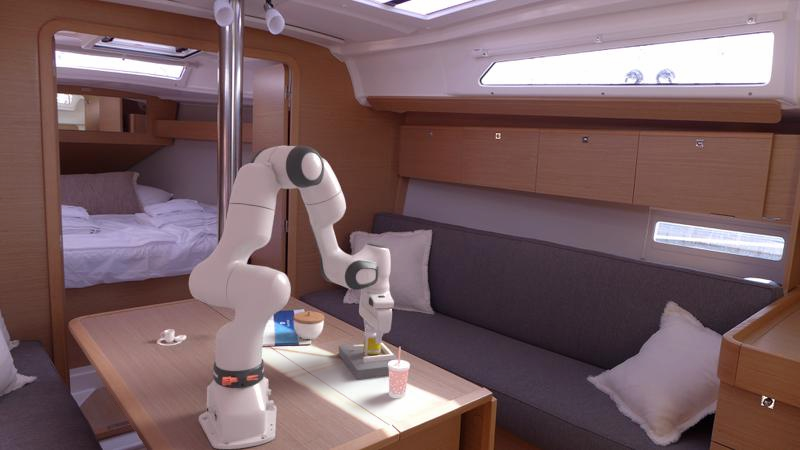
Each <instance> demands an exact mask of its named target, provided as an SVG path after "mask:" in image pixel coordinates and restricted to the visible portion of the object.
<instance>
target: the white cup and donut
mask: <svg viewBox="0 0 800 450" xmlns="http://www.w3.org/2000/svg"><path fill="white" fill-rule="evenodd" d="M162 334H164V337H163V335H162ZM186 339H187V335H185V334H179V335H177V336H175V329H173V328H172V329H166V330H164V331H162V332H161V333H160V338H159V339H158V340H156V344H157V345H160V346H166V347H167V346H168V347H169V346H175V345H178V344H181V343H182V342H183V341H185V340H186ZM162 341H164V342H166V344H165V343H162ZM174 341H175V343H174ZM167 343H168V344H167Z"/></svg>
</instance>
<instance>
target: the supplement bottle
mask: <svg viewBox="0 0 800 450" xmlns="http://www.w3.org/2000/svg"><path fill="white" fill-rule="evenodd" d="M375 337H376V330H375V329H374V328H373V327H372V326H371V325H370V324H367V331H365V330H364V335H363V343H364V350H363V354H364V356H366V357H368V356H378V355H380V352H381V343H380V344H376V343H375V341H374V340H375Z"/></svg>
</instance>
